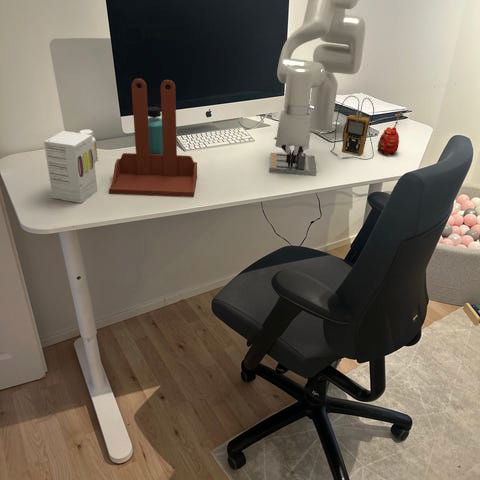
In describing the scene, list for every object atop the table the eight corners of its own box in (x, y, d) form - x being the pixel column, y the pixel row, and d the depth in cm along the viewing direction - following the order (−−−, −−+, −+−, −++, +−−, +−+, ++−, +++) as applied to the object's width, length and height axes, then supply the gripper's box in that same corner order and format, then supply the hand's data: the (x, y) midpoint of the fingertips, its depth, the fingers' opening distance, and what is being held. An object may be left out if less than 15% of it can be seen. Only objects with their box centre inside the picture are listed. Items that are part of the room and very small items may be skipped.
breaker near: (297, 165, 166) (299, 152, 164) (304, 166, 166) (305, 152, 164) (298, 168, 164) (299, 155, 162) (304, 169, 164) (305, 155, 162)
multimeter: (324, 156, 179) (332, 99, 168) (334, 147, 187) (342, 92, 176) (365, 166, 173) (376, 107, 163) (373, 156, 181) (384, 100, 171)
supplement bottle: (89, 155, 171) (85, 127, 166) (101, 159, 168) (98, 131, 163) (76, 160, 167) (73, 132, 162) (89, 164, 164) (85, 135, 159)
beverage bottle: (171, 169, 164) (169, 107, 154) (158, 176, 159) (155, 113, 149) (155, 164, 167) (152, 103, 156) (141, 171, 162) (137, 108, 151)
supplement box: (81, 204, 142) (73, 146, 133) (51, 198, 144) (42, 141, 135) (98, 189, 150) (92, 134, 141) (70, 184, 152) (62, 129, 143)
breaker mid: (295, 159, 171) (297, 146, 168) (301, 160, 171) (303, 146, 168) (296, 162, 169) (297, 149, 166) (302, 162, 168) (303, 149, 166)
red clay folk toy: (372, 149, 187) (380, 109, 179) (389, 148, 189) (398, 107, 181) (384, 157, 180) (392, 116, 173) (401, 156, 182) (410, 114, 175)
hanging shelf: (109, 194, 148) (99, 89, 132) (118, 175, 159) (110, 76, 144) (193, 197, 149) (193, 93, 133) (197, 178, 160) (197, 80, 144)
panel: (270, 156, 176) (270, 152, 176) (314, 160, 176) (314, 155, 175) (269, 172, 165) (269, 167, 165) (316, 175, 165) (316, 171, 164)
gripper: (320, 106, 158) (313, 162, 168) (272, 103, 159) (267, 158, 169) (321, 114, 152) (313, 171, 162) (270, 110, 153) (266, 167, 162)
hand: (290, 165), depth 165 cm, fingers closed
